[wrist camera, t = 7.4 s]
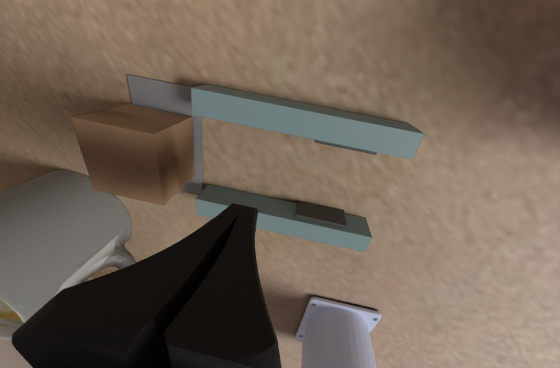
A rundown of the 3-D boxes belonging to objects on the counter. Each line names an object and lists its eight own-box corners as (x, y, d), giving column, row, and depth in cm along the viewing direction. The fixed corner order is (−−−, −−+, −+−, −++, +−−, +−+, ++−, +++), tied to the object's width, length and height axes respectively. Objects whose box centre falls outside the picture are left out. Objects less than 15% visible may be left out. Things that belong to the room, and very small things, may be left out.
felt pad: (203, 194, 20) (202, 195, 20) (147, 181, 20) (145, 182, 20) (201, 88, 15) (200, 89, 15) (128, 74, 16) (126, 74, 16)
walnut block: (194, 175, 19) (163, 205, 15) (139, 163, 19) (93, 189, 15) (192, 116, 16) (153, 134, 12) (128, 103, 16) (70, 117, 13)
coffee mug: (34, 210, 24) (-119, 292, 16) (48, 149, 20) (-155, 216, 11) (141, 273, 28) (62, 370, 19) (174, 232, 23) (90, 334, 14)
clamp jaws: (359, 231, 20) (364, 252, 18) (208, 198, 20) (196, 214, 18) (409, 123, 15) (424, 134, 13) (207, 84, 15) (191, 87, 13)
